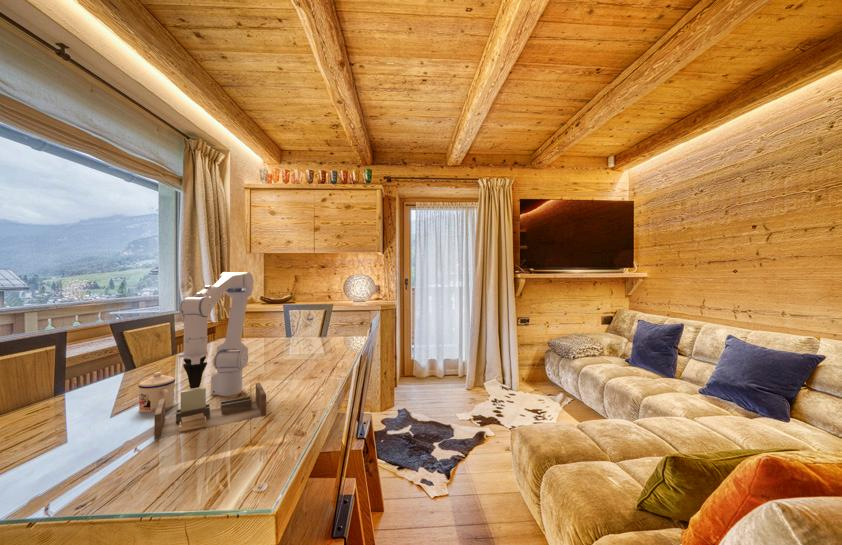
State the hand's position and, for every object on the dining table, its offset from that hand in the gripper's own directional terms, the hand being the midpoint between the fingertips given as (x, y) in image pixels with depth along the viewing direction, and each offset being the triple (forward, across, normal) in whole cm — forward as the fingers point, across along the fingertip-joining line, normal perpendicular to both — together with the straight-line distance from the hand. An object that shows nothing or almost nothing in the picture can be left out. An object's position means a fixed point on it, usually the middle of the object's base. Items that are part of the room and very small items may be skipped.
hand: (194, 384), depth 96 cm
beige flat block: (+10, 0, 0) cm, 10 cm away
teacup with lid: (+11, -16, -9) cm, 21 cm away
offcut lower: (+10, +7, 0) cm, 12 cm away
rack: (+11, +3, +5) cm, 12 cm away
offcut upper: (+8, +7, 0) cm, 11 cm away
